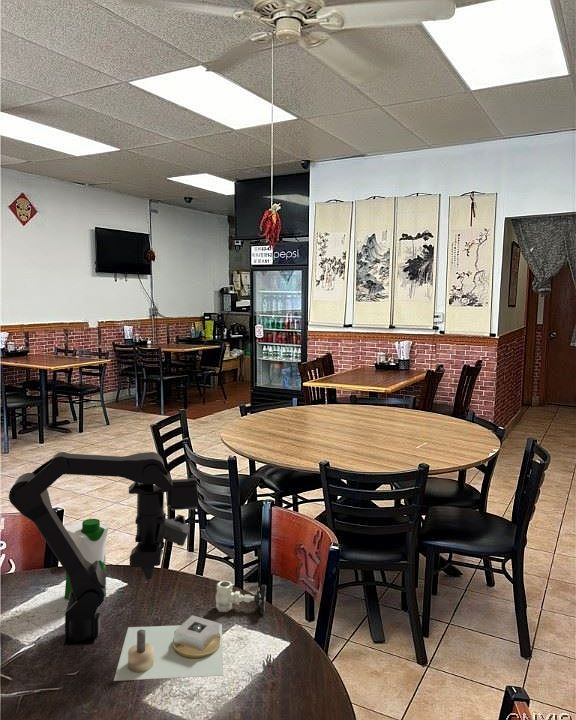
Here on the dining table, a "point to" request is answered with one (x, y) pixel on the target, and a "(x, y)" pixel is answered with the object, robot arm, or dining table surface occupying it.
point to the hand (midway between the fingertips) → (149, 578)
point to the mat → (167, 657)
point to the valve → (237, 597)
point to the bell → (195, 653)
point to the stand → (140, 655)
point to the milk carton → (88, 544)
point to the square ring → (196, 633)
